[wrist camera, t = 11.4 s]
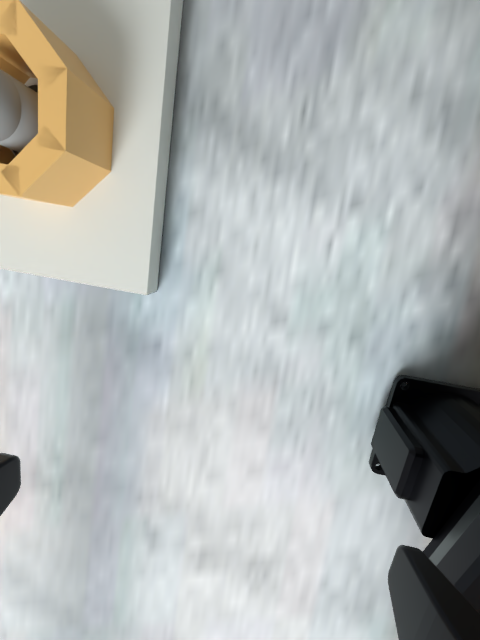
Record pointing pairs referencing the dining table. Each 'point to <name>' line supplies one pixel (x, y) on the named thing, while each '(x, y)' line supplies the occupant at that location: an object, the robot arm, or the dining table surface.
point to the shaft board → (127, 148)
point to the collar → (53, 115)
